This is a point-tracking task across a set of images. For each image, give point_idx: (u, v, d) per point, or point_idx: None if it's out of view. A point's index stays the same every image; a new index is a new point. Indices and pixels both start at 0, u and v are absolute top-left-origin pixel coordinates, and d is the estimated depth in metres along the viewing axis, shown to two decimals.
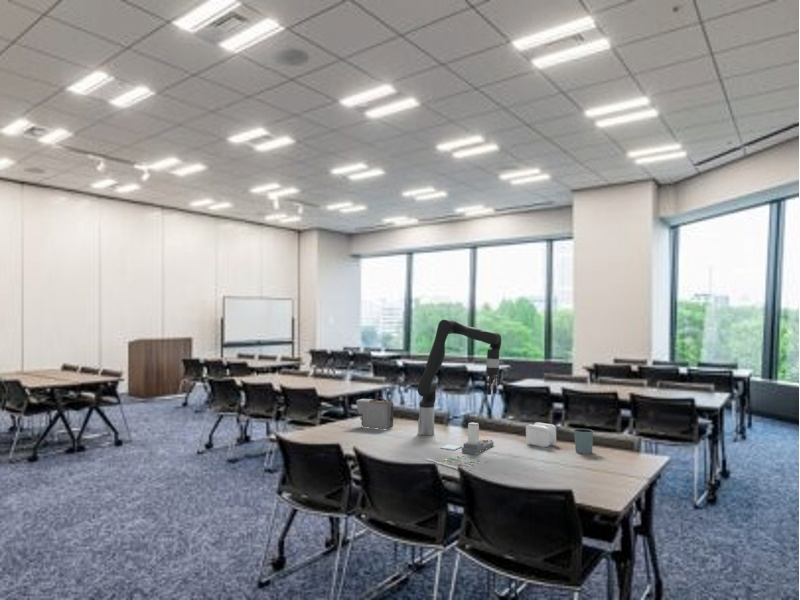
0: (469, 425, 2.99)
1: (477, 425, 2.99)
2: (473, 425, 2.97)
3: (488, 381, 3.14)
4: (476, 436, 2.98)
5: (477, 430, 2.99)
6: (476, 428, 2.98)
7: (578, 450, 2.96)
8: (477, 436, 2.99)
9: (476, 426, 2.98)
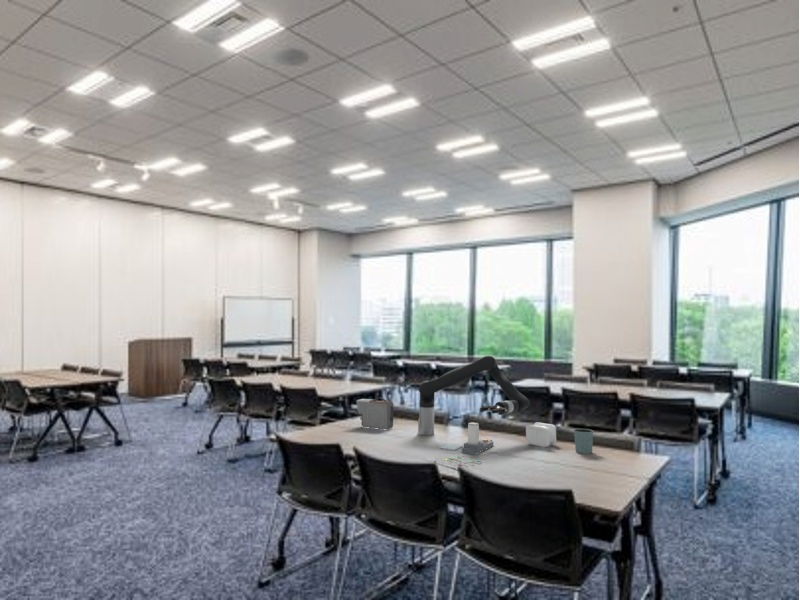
0: (469, 425, 2.99)
1: (477, 425, 2.99)
2: (473, 425, 2.97)
3: (505, 411, 3.07)
4: (476, 436, 2.98)
5: (477, 430, 2.99)
6: (476, 428, 2.98)
7: (578, 450, 2.96)
8: (477, 436, 2.99)
9: (476, 426, 2.98)
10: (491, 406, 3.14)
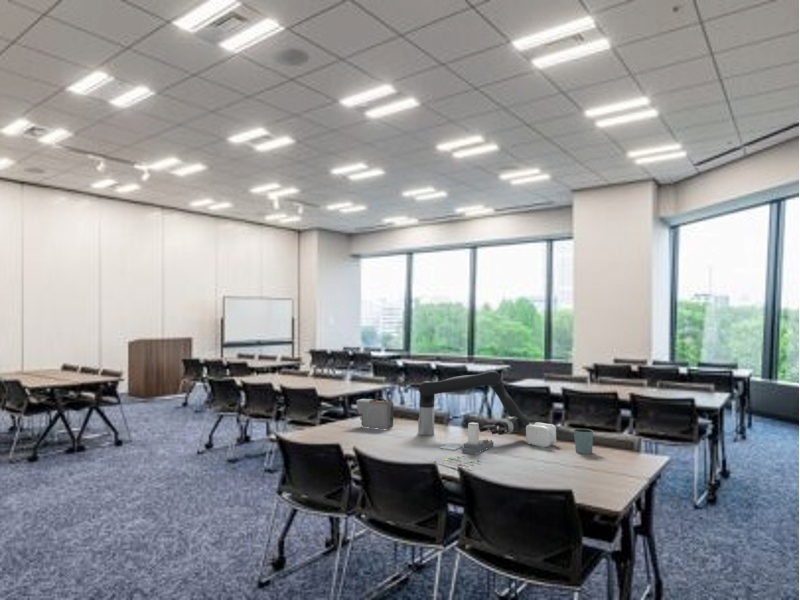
0: (469, 425, 2.99)
1: (477, 425, 2.99)
2: (473, 425, 2.97)
3: (504, 431, 3.07)
4: (476, 436, 2.98)
5: (477, 430, 2.99)
6: (476, 428, 2.98)
7: (578, 450, 2.96)
8: (477, 436, 2.99)
9: (476, 426, 2.98)
10: (491, 426, 3.13)
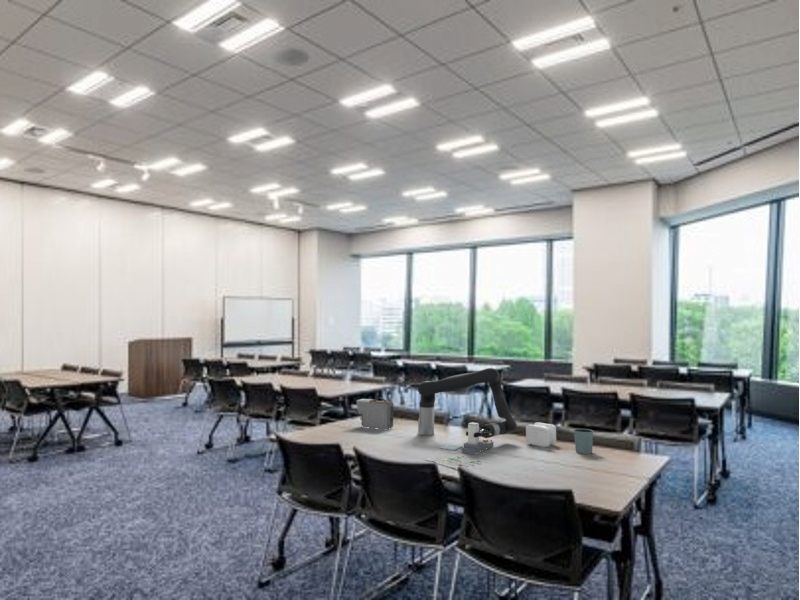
0: (469, 425, 2.99)
1: (477, 425, 2.99)
2: (473, 425, 2.97)
3: (488, 435, 2.98)
4: None
5: (477, 430, 2.99)
6: (476, 428, 2.98)
7: (578, 450, 2.96)
8: None
9: (476, 426, 2.98)
10: None
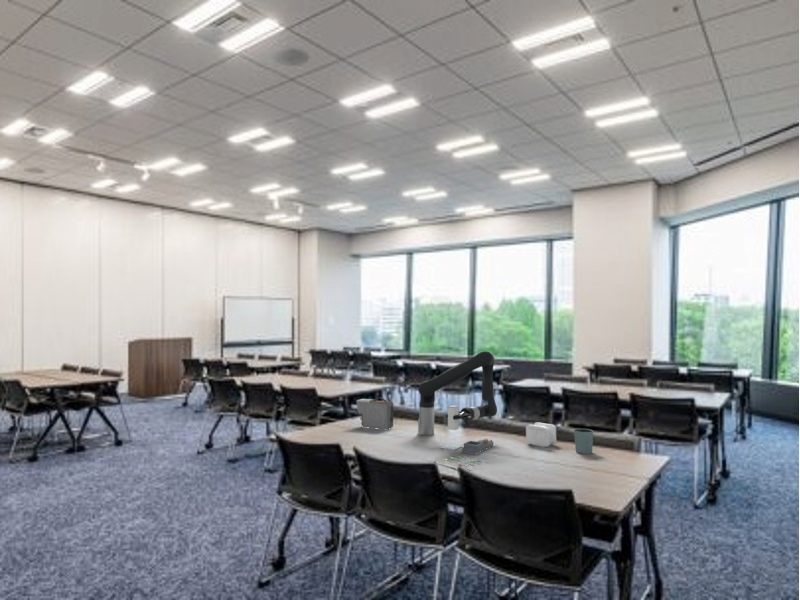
0: (449, 408, 3.06)
1: (457, 408, 3.06)
2: (452, 408, 3.04)
3: (467, 417, 3.05)
4: (456, 419, 3.05)
5: (457, 413, 3.06)
6: (456, 411, 3.05)
7: (578, 450, 2.96)
8: (457, 419, 3.06)
9: (455, 409, 3.05)
10: None
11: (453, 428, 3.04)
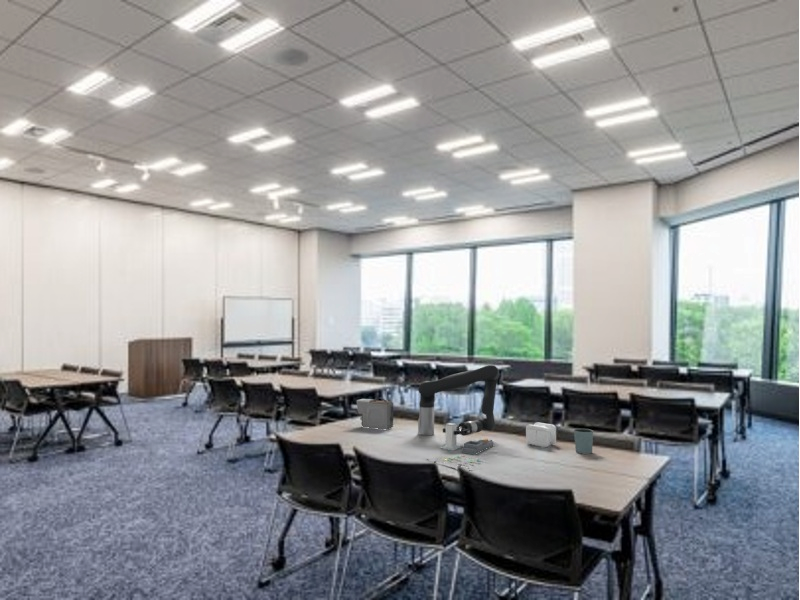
0: (446, 425, 3.07)
1: (454, 426, 3.07)
2: (450, 426, 3.05)
3: (467, 432, 3.06)
4: (453, 436, 3.06)
5: None
6: (453, 429, 3.06)
7: (578, 450, 2.96)
8: (454, 436, 3.06)
9: (453, 427, 3.06)
10: None
11: (450, 446, 3.05)
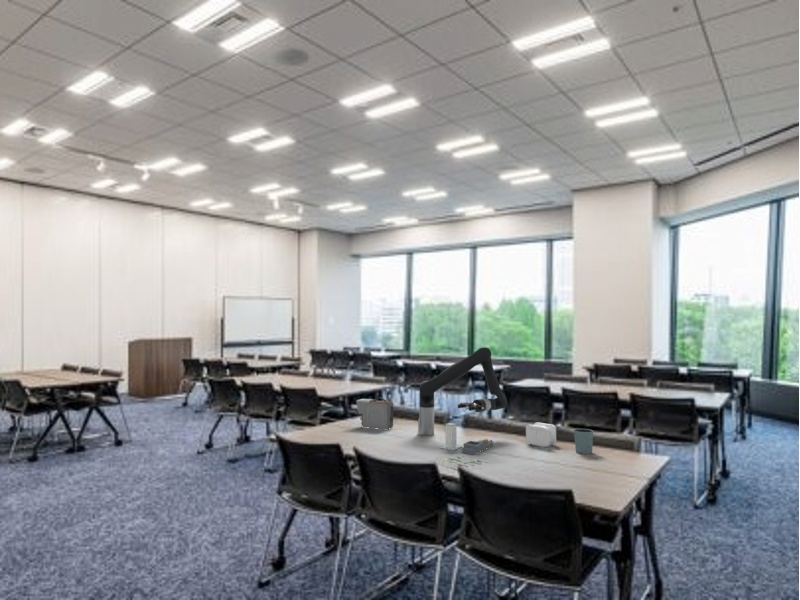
0: (446, 425, 3.07)
1: (454, 426, 3.07)
2: (450, 426, 3.05)
3: (481, 408, 3.15)
4: (453, 436, 3.06)
5: (454, 431, 3.06)
6: (453, 429, 3.06)
7: (578, 450, 2.96)
8: (454, 436, 3.06)
9: (453, 427, 3.06)
10: (469, 403, 3.21)
11: (450, 446, 3.05)
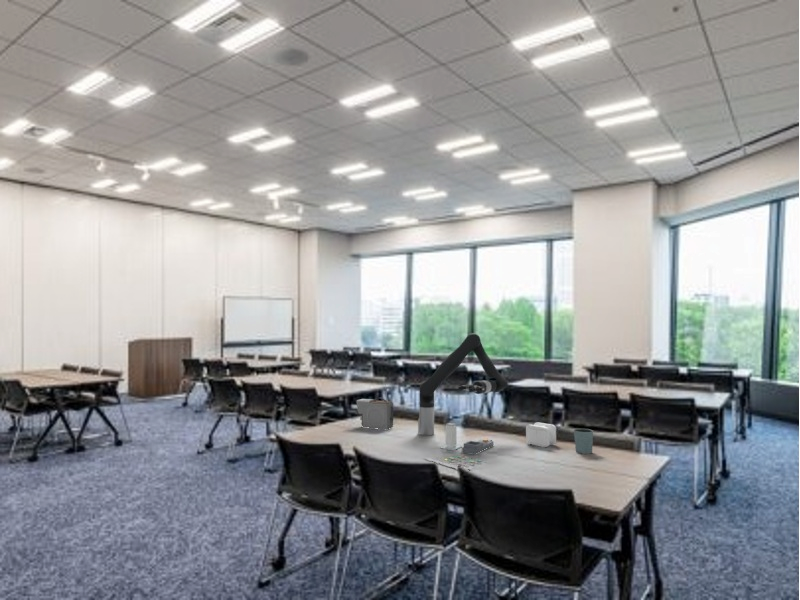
0: (446, 425, 3.07)
1: (454, 426, 3.07)
2: (450, 426, 3.05)
3: (482, 390, 3.15)
4: (453, 436, 3.06)
5: (454, 431, 3.06)
6: (453, 429, 3.06)
7: (578, 450, 2.96)
8: (454, 436, 3.06)
9: (453, 427, 3.06)
10: (469, 385, 3.22)
11: (450, 446, 3.05)
